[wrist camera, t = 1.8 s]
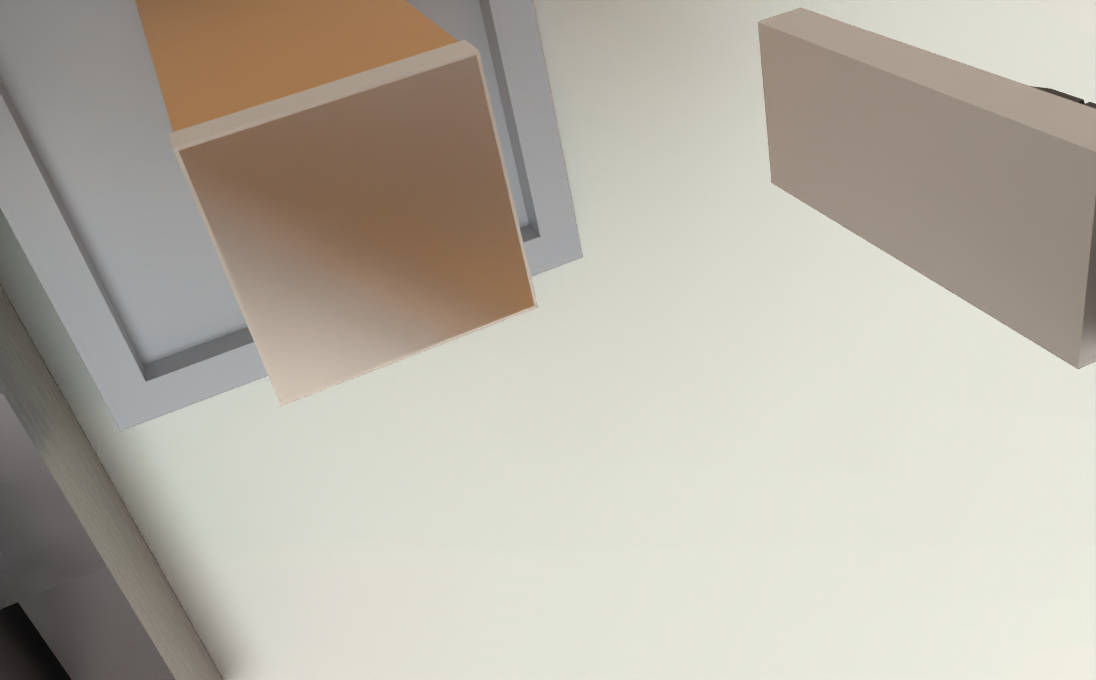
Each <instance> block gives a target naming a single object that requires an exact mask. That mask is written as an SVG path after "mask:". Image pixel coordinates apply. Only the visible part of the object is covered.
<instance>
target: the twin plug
mask: <svg viewBox="0 0 1096 680" xmlns="http://www.w3.org/2000/svg"><path fill="white" fill-rule="evenodd" d="M0 680H72V679H71V678H70V677H69V675H68V674H67V672H66V671H65V669H64V668H63V666H62V665H61V663H60V662H59V661H58V659H57V658H56V656H55V655H54V653H53V652H52V650H51V649H50V648H49V646H48V645H47V643H46V642H45V640H44V639H43V637H42V636H41V635H40V633H39V632H38V630H37V629H36V627H35V626H34V624H33V623H32V622H31V620H30V619H29V617H28V616H27V614H26V613H25V611H24V610H23V608H22V607H21V606H20V604H19V603H18V602H17V603H14V604H12V605H9V606H7V607H5V608H2V609H0Z"/></svg>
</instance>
